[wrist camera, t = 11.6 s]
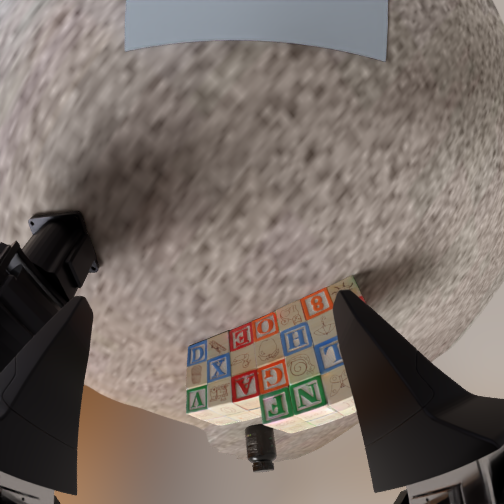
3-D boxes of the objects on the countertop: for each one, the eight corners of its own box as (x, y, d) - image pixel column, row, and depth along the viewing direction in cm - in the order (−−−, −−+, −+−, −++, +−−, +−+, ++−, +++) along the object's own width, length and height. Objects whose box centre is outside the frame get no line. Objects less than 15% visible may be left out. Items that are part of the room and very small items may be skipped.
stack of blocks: (216, 365, 36) (219, 448, 26) (187, 345, 32) (183, 438, 23) (365, 304, 31) (402, 394, 21) (352, 272, 27) (399, 376, 18)
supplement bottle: (246, 432, 59) (250, 473, 50) (243, 425, 55) (247, 471, 46) (272, 429, 60) (278, 470, 50) (272, 422, 55) (278, 467, 46)
